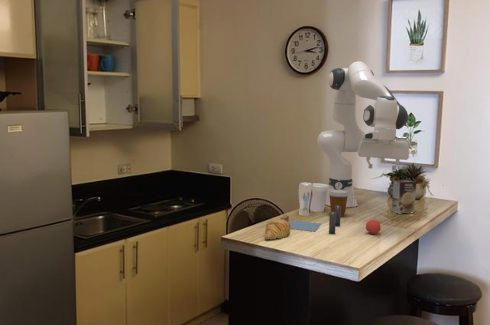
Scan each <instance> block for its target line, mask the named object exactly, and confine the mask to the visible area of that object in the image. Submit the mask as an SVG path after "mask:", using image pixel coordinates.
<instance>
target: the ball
mask: <svg viewBox="0 0 490 325" xmlns="http://www.w3.org/2000/svg"><path fill="white" fill-rule="evenodd" d="M365 229H366V231H367V232H368V233H369V234H370V235H375V234H379V232H380V230H381V229H382V228H381V224H380V222H379V221H378V220H376V219H369V220H368V221H367V222H366V224H365Z"/></svg>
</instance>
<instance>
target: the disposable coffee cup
mask: <svg viewBox="0 0 490 325" xmlns="http://www.w3.org/2000/svg"><path fill="white" fill-rule="evenodd" d="M348 195H349V194H348V191H346V190H340V189H333V190H330V191H329V196H330V206H329V207H330V212H335V206H336V205H339V206H341V218H344V217H345V216H346V215H345V213H346V209H347V207H346V203H347V198H348Z"/></svg>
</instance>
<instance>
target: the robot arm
mask: <svg viewBox="0 0 490 325" xmlns="http://www.w3.org/2000/svg"><path fill="white" fill-rule="evenodd" d="M328 84H329V86H330V88H331V89H332V90H335V92H334V97H333V110H332V111H333V112H332V118H333V120H334V121H335V122H336V123H338V124H340V125H341V126H342V127H343V130H333V129H332V130H324V131H321V132H320V133H319V134H318V137H317V142H316V143H317V146H318V148H319V149H320V151H322V152H324V154H325V155H326V157H327V159H328V161H329V167H330V168H329V170H330V172H329V179H328V191H327V196H326V202H325V206H329V207H330V196H329V191H330V190H333V189H340V190H346V191H348V194H349V195H348V198H347V203H346V208H355V207H356V206H357V207H358V206H359V204H358V201H357V199H356V196H355V190H354V188H353V178H352V176H353V164H352V162H351V161H350V160H349V159H347V158H345V157H343V156H342V153H344V152H345V153H357V155H358V156H359V157H361V158H366V159H365V160H366V162H367V164H368V165H367V166H368V167H367V168H368V169H370V170H371V169H373V165H374V164H373V163H371V161H370V160H371V158H373V159H374V158H375V159H376V158H377V159H390V160H391V159H392V160H395V164H394V165H392V166H391V170H392V171H396V170H397V166H398V165H399V163H400V160H402V161H407V160H408V159H409V158H410V149H409V148H410V147H411V144H412V142H411V141H412V140H411V139H410V138H409V137H407V136H397V130H400V129H402V128H404V126H406V124H407V123H408V121H409V113H408V111H407V110H406V108H405V106H403V105H402V104H400V102H399V101H398V100H397V98H396V97H395V96H394V94H393V93H392V92H391V91H390V89H389V88H388V87H387V86H385V84H383V83H381V82H380V81H379V80H378V79H377V78H376V77H375V75H374V72H373V70H372V69H370V67H369V66H368V65H367V64H366V63H365V62H363V61H360V60H359V61H354V62H352V63H350V65H349V66H348V67H343V68H341V67H337V68H333V69H332V70H331V71H330V72H329V75H328ZM356 96H358V97H360V98H363V99H368V100H374V101H375V102H374V103H372V104H369V105H368V106H366V107H365V109H363V115H362V117H363V118H362V119H363V122H364V123H365V124H366V126H367V127H370V128H373V131H368V132H364V131H363V130H362V129H361V128H360V127H359V125H358V123H357V120H356V108H357V107H356V104H357V97H356Z"/></svg>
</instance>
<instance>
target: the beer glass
mask: <svg viewBox="0 0 490 325" xmlns="http://www.w3.org/2000/svg"><path fill="white" fill-rule="evenodd" d="M313 183H314V182H313ZM313 183H312V182H305V181H304V182H299V184H298V185H299V186H298V202H299V210H298V215H300V216H304V217H305V216H306V217H307V216H308V217H309V216H312V211H311V203H312V198H313Z"/></svg>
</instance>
